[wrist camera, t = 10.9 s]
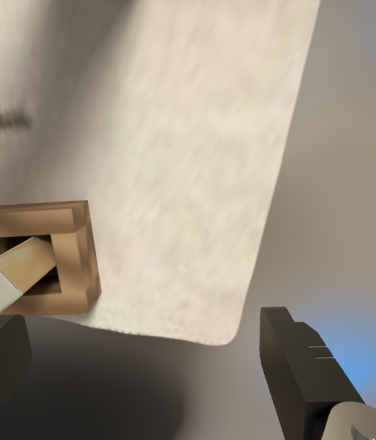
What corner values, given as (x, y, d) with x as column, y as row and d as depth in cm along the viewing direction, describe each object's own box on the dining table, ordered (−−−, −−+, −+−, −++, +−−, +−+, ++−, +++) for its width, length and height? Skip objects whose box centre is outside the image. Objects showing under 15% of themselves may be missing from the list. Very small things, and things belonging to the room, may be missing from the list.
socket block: (-12, 206, 37) (-45, 216, 32) (87, 200, 36) (70, 209, 31) (10, 296, 40) (-17, 318, 35) (101, 291, 40) (88, 313, 34)
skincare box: (41, 275, 39) (-25, 331, 27) (18, 251, 38) (-60, 298, 26) (75, 249, 38) (23, 295, 26) (53, 223, 37) (-11, 260, 25)
